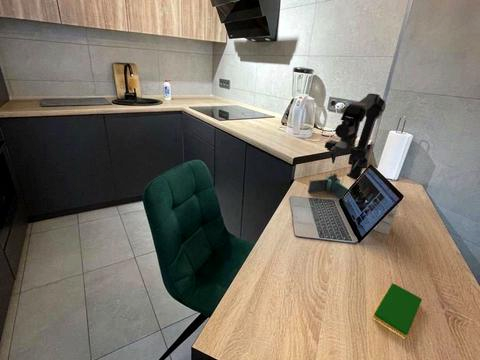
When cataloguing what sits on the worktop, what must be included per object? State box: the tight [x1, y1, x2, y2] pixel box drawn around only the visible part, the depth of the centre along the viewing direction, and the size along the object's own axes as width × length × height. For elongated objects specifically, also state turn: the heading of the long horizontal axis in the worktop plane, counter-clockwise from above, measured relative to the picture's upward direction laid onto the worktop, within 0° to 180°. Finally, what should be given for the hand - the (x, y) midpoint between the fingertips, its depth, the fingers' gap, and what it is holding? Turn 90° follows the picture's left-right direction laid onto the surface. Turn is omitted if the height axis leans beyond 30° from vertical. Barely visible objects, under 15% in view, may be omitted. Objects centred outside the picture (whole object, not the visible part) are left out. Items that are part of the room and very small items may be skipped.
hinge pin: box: [329, 173, 338, 181], centre depth 122 cm, size 3×3×8 cm
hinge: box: [307, 175, 350, 199], centre depth 119 cm, size 14×17×6 cm
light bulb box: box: [364, 199, 399, 236], centre depth 97 cm, size 11×7×11 cm, turn 58°
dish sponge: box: [372, 283, 423, 338], centre depth 65 cm, size 7×14×2 cm, turn 136°
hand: (342, 166), depth 121 cm, fingers open, 9 cm apart
